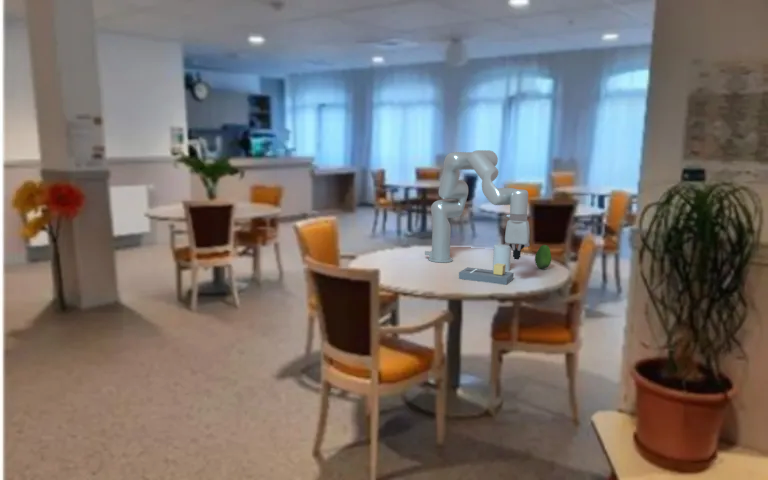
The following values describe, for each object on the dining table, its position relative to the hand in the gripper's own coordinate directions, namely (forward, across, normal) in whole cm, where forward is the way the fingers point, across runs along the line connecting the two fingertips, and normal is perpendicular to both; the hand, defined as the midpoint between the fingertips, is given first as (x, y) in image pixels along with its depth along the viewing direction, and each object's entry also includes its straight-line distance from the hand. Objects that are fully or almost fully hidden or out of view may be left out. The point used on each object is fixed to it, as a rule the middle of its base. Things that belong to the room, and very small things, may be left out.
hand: (516, 258), depth 257 cm
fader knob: (+7, -8, 0) cm, 11 cm away
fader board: (+11, -14, 0) cm, 17 cm away
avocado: (+11, +4, +36) cm, 38 cm away
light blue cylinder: (+11, -13, +22) cm, 28 cm away
